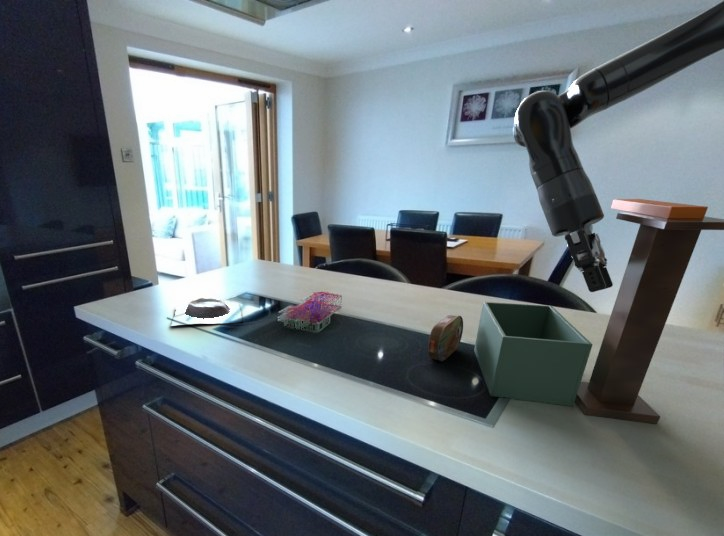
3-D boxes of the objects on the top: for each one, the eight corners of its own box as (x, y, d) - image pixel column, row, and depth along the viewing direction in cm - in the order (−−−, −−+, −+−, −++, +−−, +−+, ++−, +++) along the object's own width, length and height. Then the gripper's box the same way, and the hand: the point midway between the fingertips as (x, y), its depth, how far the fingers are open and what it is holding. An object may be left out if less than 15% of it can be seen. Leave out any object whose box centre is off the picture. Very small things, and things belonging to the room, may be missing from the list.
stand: (622, 388, 74) (686, 212, 62) (664, 431, 62) (754, 222, 49) (560, 381, 77) (610, 212, 64) (589, 421, 64) (657, 221, 52)
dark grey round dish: (169, 328, 110) (168, 315, 108) (176, 306, 128) (174, 295, 127) (243, 323, 112) (242, 310, 111) (239, 302, 131) (238, 291, 129)
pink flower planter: (312, 298, 133) (312, 283, 131) (354, 303, 126) (355, 288, 124) (267, 326, 109) (266, 308, 107) (316, 335, 102) (316, 316, 100)
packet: (637, 208, 69) (640, 199, 69) (703, 218, 54) (708, 206, 53) (610, 208, 71) (613, 199, 70) (667, 218, 55) (671, 206, 54)
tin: (437, 367, 84) (442, 330, 81) (423, 362, 86) (427, 327, 83) (461, 345, 94) (467, 312, 91) (448, 342, 96) (453, 309, 93)
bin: (538, 356, 87) (552, 305, 83) (573, 406, 69) (592, 344, 64) (474, 350, 91) (483, 301, 86) (490, 396, 73) (502, 336, 68)
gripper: (587, 186, 61) (626, 283, 59) (601, 197, 71) (634, 280, 69) (534, 210, 67) (568, 299, 65) (553, 217, 76) (583, 295, 74)
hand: (602, 289), depth 67 cm, fingers open, 8 cm apart
